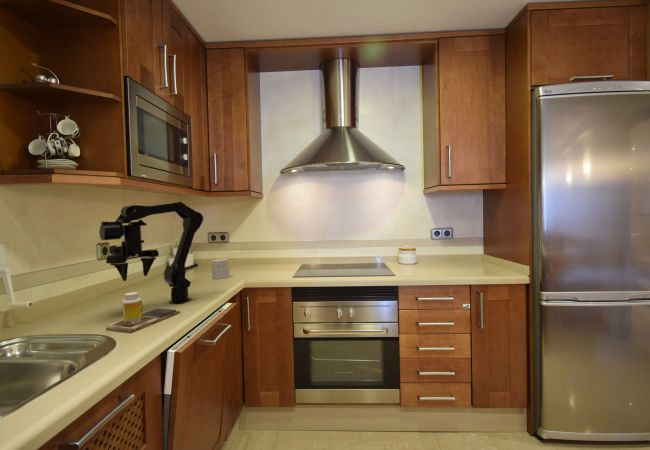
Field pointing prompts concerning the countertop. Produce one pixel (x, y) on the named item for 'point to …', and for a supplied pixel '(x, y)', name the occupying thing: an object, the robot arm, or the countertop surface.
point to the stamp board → (148, 320)
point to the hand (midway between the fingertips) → (135, 278)
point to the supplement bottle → (132, 309)
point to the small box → (220, 269)
